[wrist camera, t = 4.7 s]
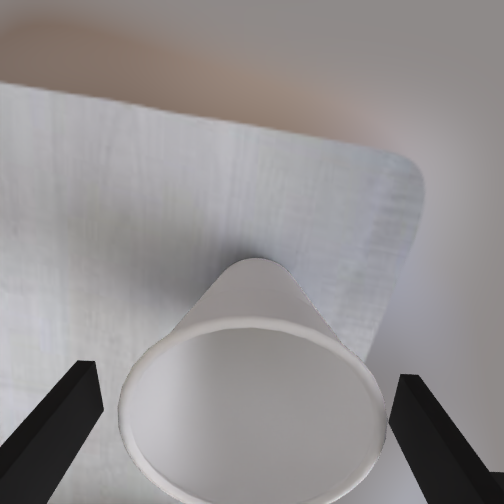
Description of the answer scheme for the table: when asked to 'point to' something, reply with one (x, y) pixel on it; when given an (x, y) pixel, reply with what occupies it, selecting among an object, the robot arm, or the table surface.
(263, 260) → the cup
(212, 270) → the table surface
